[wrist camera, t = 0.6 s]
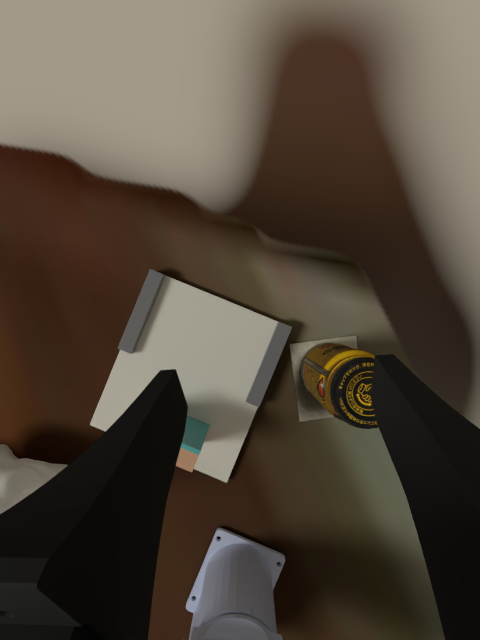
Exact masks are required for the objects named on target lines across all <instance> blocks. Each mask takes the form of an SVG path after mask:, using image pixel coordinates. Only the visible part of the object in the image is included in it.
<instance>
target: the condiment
mask: <svg viewBox="0 0 480 640" xmlns="http://www.w3.org/2000/svg"><path fill="white" fill-rule="evenodd" d="M290 352H291V360H292V368H293V375H294V382H295V389H296V397H297V405H298V412H299V419H300V422H302V421H308V420H315V419H322V418H330V417H336V418H338V419H340V420H342V421H345V422H346V423H348V424H349V425H351V426H355V427H358V428H362V429H364V428H365V429H371V428H377V427H379V426H378V424H377V420H376V417H375V413H374V409H373V405H372V402H371V398H370V396H371V386H372V377H373V367H374V357H375V356H374V355H372V354H371V353H368V352H366V351H363V350H360V349H358V346H357V336H349V337H341V338H333V339H325V340H317V341H309V342H302V343H294V344H290ZM307 391H308V392H307Z"/></svg>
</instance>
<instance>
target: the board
mask: <svg viewBox="0 0 480 640" xmlns="http://www.w3.org/2000/svg"><path fill="white" fill-rule="evenodd" d="M291 329H292V327H291V326H288V325H286V324H283V323H281V322H278V321H275V320H273V319H270V318H268V317H265V316H263V315H261V314H258V313H256V312H253V311H251V310H248V309H246V308H243V307H241V306H239V305H236V304H234V303H231V302H229V301H226V300H224V299H222V298H219V297H217V296H214V295H212V294H209V293H207V292H204V291H202V290H200V289H197V288H195V287H192V286H190V285H187V284H185V283H183V282H180V281H178V280H175V279H173V278H170V277H168V276H166V275H164V274H161V273H159V272H157V271H154V270H152V269H150V270H149V273H148V275H147V278H146V280H145V283H144V285H143V288H142V290H141V292H140V295H139V297H138V300H137V302H136V305H135V307H134V310H133V312H132V314H131V317H130V319H129V322H128V324H127V327H126V329H125V332H124V334H123V336H122V339H121V341H120V344H119V346H118V349H120V352H119V354H118V357H117V359H116V362H115V364H114V367H113V369H112V372H111V374H110V376H109V379H108V381H107V384H106V386H105V389H104V391H103V394H102V396H101V398H100V401H99V403H98V406H97V408H96V411H95V413H94V416H93V418H92V420H91V423H90V425H91V426H94V427H96V428H98V429H101V430H103V431H105V432H106V431H107V430H108V429H109V428H110V427H111V425H112V424H113V423H114V422H115V421H116V420H117V419H118V418H119V417H120V416H121V415H122V414H123V413H124V412H125V411H126V409H127V408H128V407H129V406H130V405H131V404H132V403H133V402H134V400H135V399H136V398H137V397H138V396H139V395H140V393H141V392H142V391H143V390H144V389H145V387H146V386H147V385H148V384H149V383H150V382H151V380H152V379H153V378H154V377H155V376H156V375H157V373H158V372H159V371H160V370H170V369H176V371H177V374H178V377H179V380H180V383H181V387H182V390H183V393H184V396H185V399H186V402H187V405H188V411H187V416H189V417H192V418H194V419H197V420H199V421H201V422H204V423H206V424H209V425H210V426H209V429H208V432H207V435H206V438H205V440H204V443H203V446H202V449H201V452H200V454H199V456H198V459H197V461H196V464H195V466H194V469H195V470H198V471H200V472H203V473H205V474H207V475H210V476H212V477H214V478H217V479H219V480H221V481H224V482H226V483H227V481H228V478H229V476H230V474H231V471H232V469H233V466H234V464H235V461H236V459H237V457H238V454H239V452H240V449H241V447H242V444H243V442H244V440H245V437H246V435H247V432H248V430H249V428H250V425H251V423H252V420H253V418H254V415H255V413H256V411H257V408H258V407H260V404H261V402H262V399H263V397H264V394H265V392H266V390H267V387H268V385H269V382H270V380H271V377H272V375H273V373H274V370H275V368H276V365H277V363H278V360H279V358H280V356H281V353H282V351H283V348H284V346H285V343H286V341H287V339H288V336H289V334H290V331H291Z"/></svg>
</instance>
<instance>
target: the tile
mask: <svg viewBox="0 0 480 640" xmlns="http://www.w3.org/2000/svg"><path fill="white" fill-rule="evenodd" d="M209 426H210V425H209V424H206V423H204V422H201V421H199V420H197V419H194V418H192V417H189V416H187V419H186V426H185V433H184V436H183V440H182V444H181V448H180V452H179V455H178V459H177V463H176V466H178V467H180V468H182V469H185V470H187V471H190V472H192V471H193V469H194V466H195V464H196V461H197V459H198V456H199V454H200V452H201V449H202V446H203V443H204V440H205V438H206V435H207V432H208V429H209Z"/></svg>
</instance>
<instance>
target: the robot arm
mask: <svg viewBox="0 0 480 640" xmlns="http://www.w3.org/2000/svg"><path fill="white" fill-rule="evenodd" d="M370 398H371V402H372V405H373V409H374V413H375V417H376V420H377V424H378V426H379V429H380V432H381V434H382V437H383V439H384V442H385V444H386V446H387V449H388V451H389V454H390V456H391V459H392V461H393V464H394V466H395V469H396V471H397V473H398V476H399V478H400V481H401V483H402V486H403V489H404V491H405V494H406V497H407V500H408V503H409V507H410V510H411V513H412V517H413V520H414V523H415V527H416V530H417V533H418V537H419V540H420V544H421V548H422V551H423V555H424V558H425V562H426V565H427V569H428V573H429V577H430V581H431V584H432V588H433V592H434V596H435V599H436V603H437V607H438V611H439V615H440V620H441V624H442V628H443V632H444V636H445V640H480V429H479V428H478V427H476V426H475V425H474V424H472V423H471V422H470V421H468V420H467V419H466V418H464V417H463V416H462V415H461V414H459V413H458V412H457V411H456V410H454V409H453V408H452V407H451V406H449V405H448V404H447V403H446V402H445V401H444V400H442V399H441V398H440V397H439V396H438V395H437V394H436V393H434V392H433V391H432V390H431V389H430V388H429V387H428V386H426V385H425V384H424V383H423V382H422V381H421V380H420V379H419V378H418V377H417V376H416V375H414V374H413V373H412V372H411V371H410V370H409V369H408V368H407V367H406V366H405V365H404V364H403V363H402V362H401V361H400V360H399V359H398V358H397V357H396V356H394V355H393V354H391V355H376V356H375V357H374V367H373V377H372V386H371V396H370ZM187 411H188V405H187V402H186V399H185V396H184V393H183V390H182V387H181V383H180V380H179V377H178V374H177V371H176V369H170V370H160V371H159V372H158V373H157V375H156V376H155V377H154V378H153V379H152V380H151V382H150V383H149V384H148V385H147V386H146V387H145V389H144V390H143V391H142V392H141V393H140V395H139V396H138V397H137V398H136V399H135V400H134V402H133V403H132V404H131V405H130V406H129V407H128V408H127V409H126V411H125V412H124V413H123V414H122V415H121V416H120V417H119V418H118V419H117V420H116V421H115V422H114V423H113V424H112V425H111V427H110V428H109V429H108V430H107V431H106V432H105V433H104V434H103V435H102V436H101V437H100V438H99V439H98V440H96V441H95V442H94V443H93V444H92V445H91V446H90V447H89V448H88V449H87V450H86V451H84V452H83V453H82V454H81V455H80V456H79V457H78V458H76V459H75V460H74V461H73V462H72V463H70V464H69V465H68V466H67V467H65V468H64V469H63V470H62V471H60V472H59V473H58V474H57V475H55V476H54V477H53V478H52V479H50V480H49V481H48V482H46V483H45V484H44V485H42V486H41V487H39V488H38V489H37V490H35V491H34V492H33V493H31V494H30V495H28V496H27V497H25V498H24V499H23V500H21V501H20V502H18V503H17V504H15V505H14V506H12V507H11V508H9V509H8V510H6V511H5V512H3V513H1V514H0V640H148V632H149V623H150V613H151V604H152V595H153V587H154V579H155V571H156V563H157V556H158V550H159V543H160V537H161V530H162V524H163V518H164V512H165V507H166V501H167V497H168V492H169V488H170V485H171V481H172V477H173V474H174V470H175V466H176V463H177V459H178V455H179V452H180V448H181V444H182V440H183V436H184V433H185V426H186V419H187ZM218 536H220V537H221V538H220V539H218V538H217V537H218ZM277 562H280V564H277ZM284 563H285V556H284V554H282V553H280V552H277V551H275V550H273V549H270V548H268V547H266V546H263V545H261V544H258V543H256V542H254V541H251V540H249V539H247V538H244V537H242V536H240V535H237V534H235V533H233V532H230V531H228V530H226V529H223V528H218V529H217V530H216V533H215V535H214V537H213V540H212V542H211V545H210V547H209V549H208V552H207V554H206V557H205V559H204V562H203V564H202V566H201V569H200V571H199V574H198V576H197V579H196V581H195V583H194V586H193V588H192V591H191V593H190V596H189V598H188V600H187V603H186V609H187V610H188V611H190V612H192V613H194V614H193V619H192V625H191V630H190V636H189V640H282V636H281V635H278V634H277V628H276V618H275V607H274V597H273V589H274V587H275V585H276V582H277V580H278V577H279V575H280V572H281V570H282V568H283V565H284ZM193 596H195V597H196V598H193Z"/></svg>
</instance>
